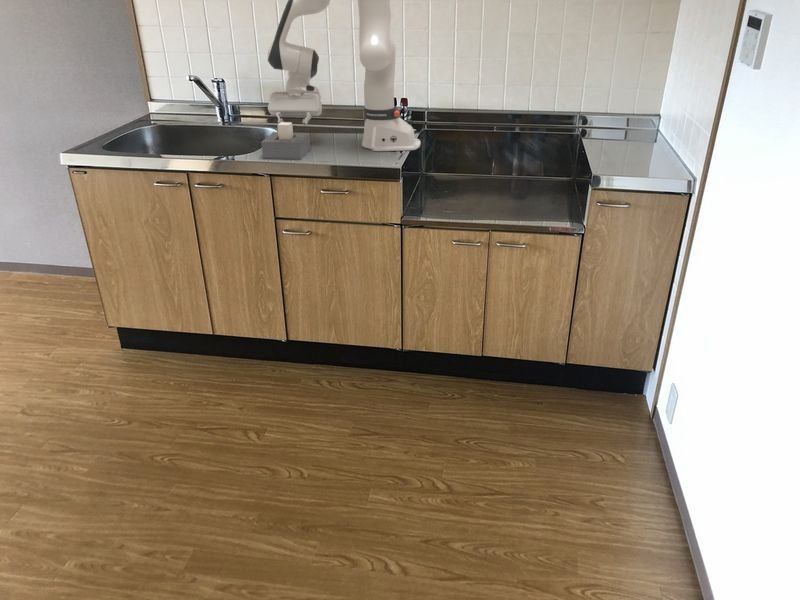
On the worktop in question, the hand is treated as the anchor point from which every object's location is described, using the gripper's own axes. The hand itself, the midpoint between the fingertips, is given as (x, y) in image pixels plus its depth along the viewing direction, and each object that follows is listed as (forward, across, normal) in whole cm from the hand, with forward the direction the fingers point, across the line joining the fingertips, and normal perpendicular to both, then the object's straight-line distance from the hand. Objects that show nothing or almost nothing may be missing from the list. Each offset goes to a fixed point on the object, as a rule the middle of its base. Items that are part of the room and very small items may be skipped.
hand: (292, 124), depth 251 cm
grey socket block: (+13, 0, 0) cm, 13 cm away
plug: (+13, 0, 0) cm, 13 cm away
